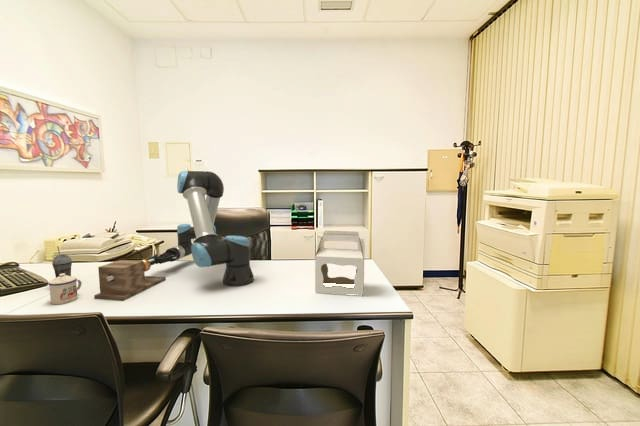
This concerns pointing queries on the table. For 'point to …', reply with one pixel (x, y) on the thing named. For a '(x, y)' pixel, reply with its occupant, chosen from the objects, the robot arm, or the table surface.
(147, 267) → the plunger
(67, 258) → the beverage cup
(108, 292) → the block
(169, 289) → the table surface
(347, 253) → the gable box
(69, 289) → the teacup with lid
